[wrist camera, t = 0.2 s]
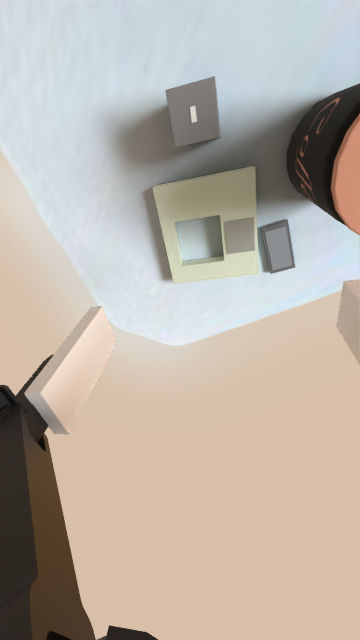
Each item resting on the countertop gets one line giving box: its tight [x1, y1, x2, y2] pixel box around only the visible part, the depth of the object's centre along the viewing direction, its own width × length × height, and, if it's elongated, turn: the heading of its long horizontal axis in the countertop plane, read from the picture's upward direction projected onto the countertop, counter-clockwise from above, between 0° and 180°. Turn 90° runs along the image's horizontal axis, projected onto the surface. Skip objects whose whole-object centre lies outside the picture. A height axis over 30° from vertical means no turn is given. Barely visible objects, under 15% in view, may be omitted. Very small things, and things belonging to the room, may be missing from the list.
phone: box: [261, 219, 295, 274], centre depth 38 cm, size 7×4×1 cm, turn 21°
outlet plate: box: [152, 166, 259, 284], centre depth 38 cm, size 14×13×2 cm
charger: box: [166, 76, 221, 148], centre depth 28 cm, size 4×4×8 cm
